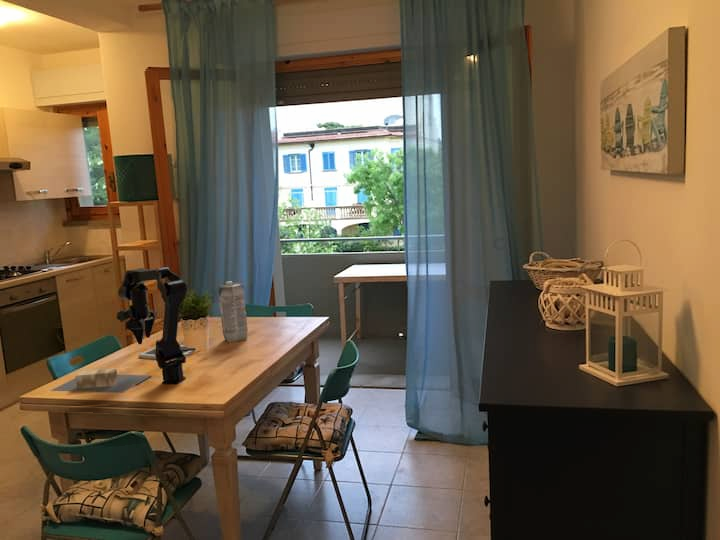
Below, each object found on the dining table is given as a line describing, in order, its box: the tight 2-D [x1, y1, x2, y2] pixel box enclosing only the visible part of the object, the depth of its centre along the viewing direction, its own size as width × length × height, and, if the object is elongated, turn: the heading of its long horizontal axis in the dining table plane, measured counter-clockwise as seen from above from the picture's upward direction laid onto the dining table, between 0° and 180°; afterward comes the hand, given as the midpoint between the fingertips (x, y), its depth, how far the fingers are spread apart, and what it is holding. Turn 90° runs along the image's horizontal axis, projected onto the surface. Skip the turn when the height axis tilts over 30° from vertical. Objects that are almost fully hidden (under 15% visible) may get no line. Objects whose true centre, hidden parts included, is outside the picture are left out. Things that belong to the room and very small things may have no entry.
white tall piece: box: [74, 368, 118, 389], centre depth 220 cm, size 5×5×13 cm
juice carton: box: [217, 280, 248, 343], centre depth 272 cm, size 9×10×27 cm
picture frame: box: [137, 344, 196, 360], centre depth 258 cm, size 16×3×21 cm
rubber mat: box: [50, 374, 153, 394], centre depth 223 cm, size 30×18×1 cm, turn 76°
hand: (144, 340), depth 231 cm, fingers open, 9 cm apart
